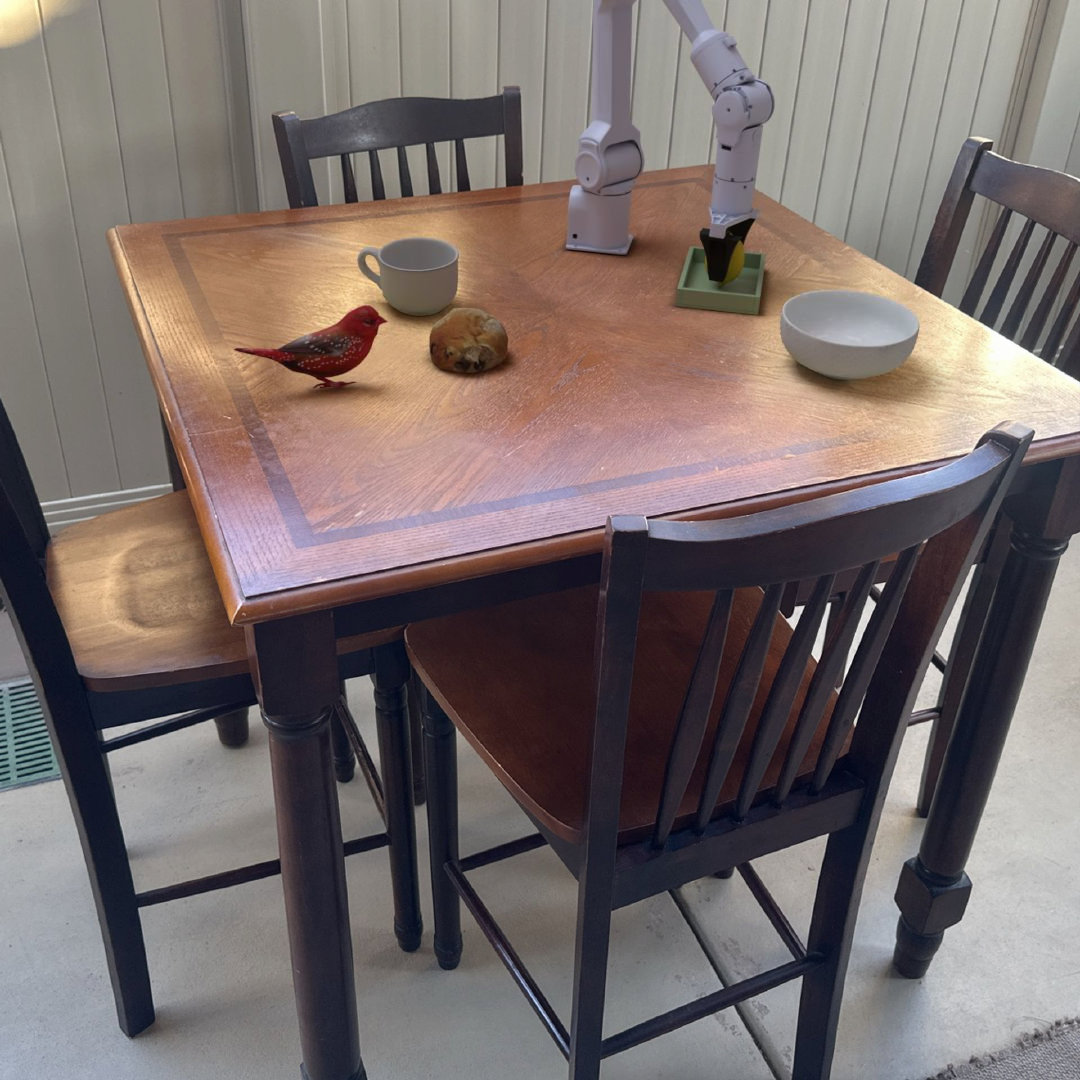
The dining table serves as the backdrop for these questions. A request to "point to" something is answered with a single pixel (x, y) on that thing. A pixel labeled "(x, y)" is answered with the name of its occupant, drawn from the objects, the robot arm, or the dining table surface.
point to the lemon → (733, 264)
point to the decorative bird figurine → (329, 347)
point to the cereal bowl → (848, 333)
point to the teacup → (415, 274)
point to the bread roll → (468, 341)
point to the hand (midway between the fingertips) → (723, 271)
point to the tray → (729, 297)
